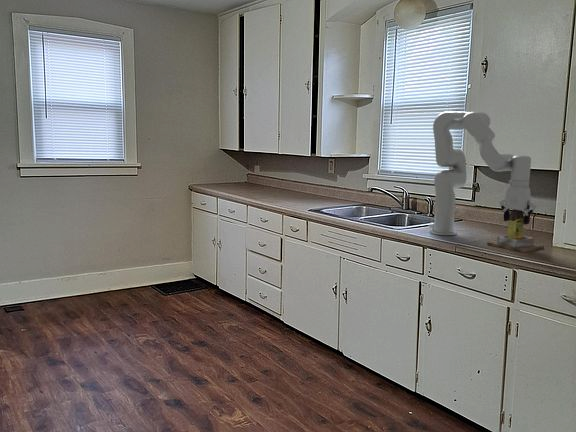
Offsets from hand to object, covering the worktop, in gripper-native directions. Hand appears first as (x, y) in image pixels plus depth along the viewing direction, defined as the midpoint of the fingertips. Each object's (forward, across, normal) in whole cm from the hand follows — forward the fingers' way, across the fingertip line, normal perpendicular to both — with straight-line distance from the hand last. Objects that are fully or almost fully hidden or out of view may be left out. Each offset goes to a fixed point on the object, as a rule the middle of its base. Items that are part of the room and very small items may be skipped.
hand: (516, 222), depth 239 cm
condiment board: (+11, 0, 0) cm, 11 cm away
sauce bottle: (+10, 0, 0) cm, 10 cm away
